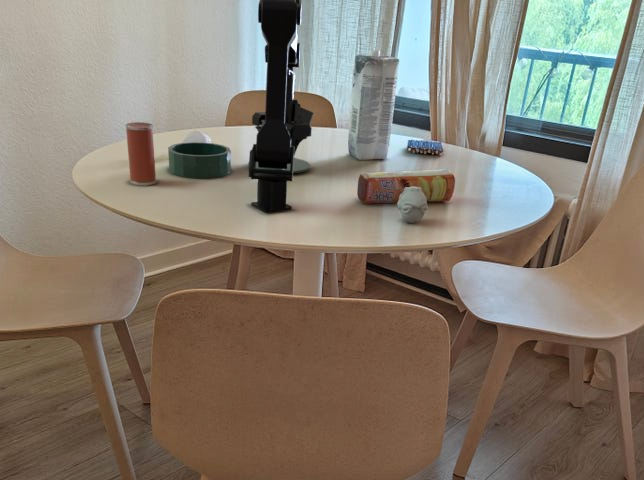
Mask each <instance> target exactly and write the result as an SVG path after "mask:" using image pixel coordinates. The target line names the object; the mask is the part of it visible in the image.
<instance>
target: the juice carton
mask: <svg viewBox="0 0 644 480" xmlns="http://www.w3.org/2000/svg"><path fill="white" fill-rule="evenodd" d="M380 52H381V50H368V55H364V54H356V55H355V58H354V68H353V69H354V70H353V79H352V89H351V101H350V114H349V123H348V124H349V126H348V140H347V145H348V154H349V155H350V156H352V157H354V158H355V159H357V160H360V161H366V160H367V161H368V160H386V159H387V157H388V154H389V149H390V143H391V135H392V126H393V120H394V119H393V118H394V110H395V103H396V102H395V101H396V93H397V84H398V83H397V82H398V76H399V65H400V64H399V63H400V59H399V58H397V57H393V56H389V55H380V54H381V53H380Z"/></svg>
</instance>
